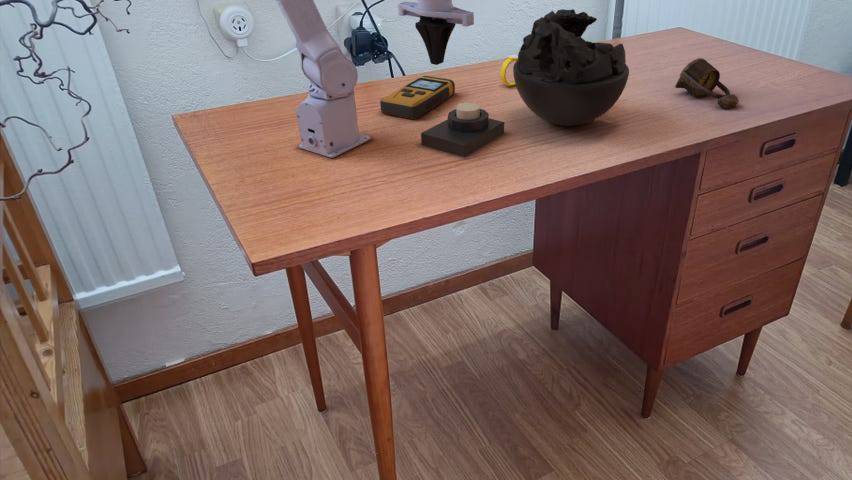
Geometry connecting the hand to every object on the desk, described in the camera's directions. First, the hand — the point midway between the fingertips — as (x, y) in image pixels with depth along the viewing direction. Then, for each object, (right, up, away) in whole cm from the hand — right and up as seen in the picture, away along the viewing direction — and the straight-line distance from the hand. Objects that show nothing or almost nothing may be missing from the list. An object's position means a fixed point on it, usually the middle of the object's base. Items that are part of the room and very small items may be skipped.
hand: (437, 63), depth 115 cm
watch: (+14, +2, +22) cm, 26 cm away
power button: (+6, -10, -3) cm, 12 cm away
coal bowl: (+23, -9, +5) cm, 26 cm away
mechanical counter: (+52, -3, +14) cm, 54 cm away
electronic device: (-4, -4, +12) cm, 14 cm away
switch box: (+5, -14, -2) cm, 15 cm away
